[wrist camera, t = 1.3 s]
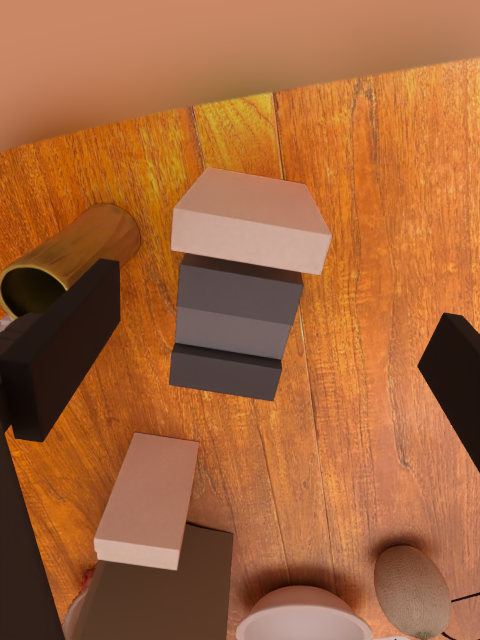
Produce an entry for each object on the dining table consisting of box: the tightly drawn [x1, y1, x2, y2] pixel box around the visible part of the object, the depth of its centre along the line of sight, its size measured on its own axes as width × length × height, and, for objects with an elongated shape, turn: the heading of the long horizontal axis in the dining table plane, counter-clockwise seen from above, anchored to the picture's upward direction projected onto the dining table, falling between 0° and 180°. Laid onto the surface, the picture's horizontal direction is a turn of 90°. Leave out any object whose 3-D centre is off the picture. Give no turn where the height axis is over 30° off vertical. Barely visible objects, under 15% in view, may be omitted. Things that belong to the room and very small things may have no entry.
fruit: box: [374, 545, 451, 640], centre depth 56 cm, size 10×12×15 cm
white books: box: [94, 432, 199, 570], centre depth 47 cm, size 6×9×14 cm
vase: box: [0, 204, 140, 320], centre depth 31 cm, size 6×6×14 cm
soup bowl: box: [236, 586, 373, 640], centre depth 69 cm, size 24×24×7 cm
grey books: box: [169, 253, 304, 401], centre depth 34 cm, size 11×9×12 cm
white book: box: [171, 167, 332, 275], centre depth 28 cm, size 2×9×15 cm, turn 81°
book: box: [70, 524, 233, 640], centre depth 52 cm, size 19×8×25 cm, turn 66°
